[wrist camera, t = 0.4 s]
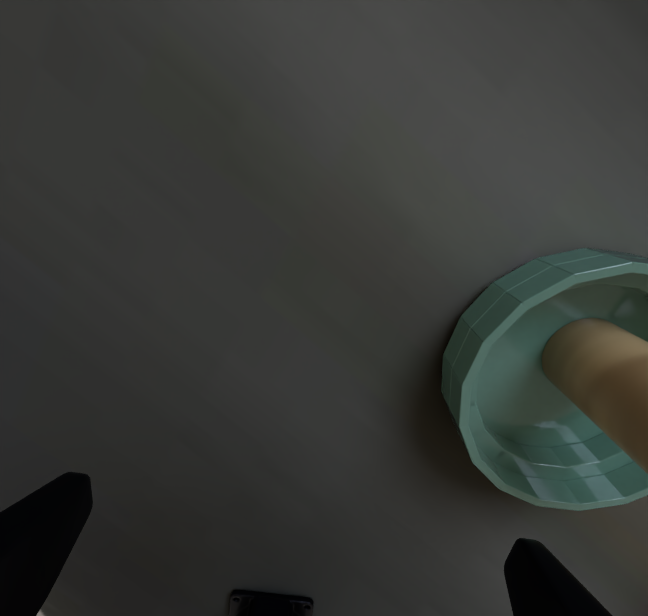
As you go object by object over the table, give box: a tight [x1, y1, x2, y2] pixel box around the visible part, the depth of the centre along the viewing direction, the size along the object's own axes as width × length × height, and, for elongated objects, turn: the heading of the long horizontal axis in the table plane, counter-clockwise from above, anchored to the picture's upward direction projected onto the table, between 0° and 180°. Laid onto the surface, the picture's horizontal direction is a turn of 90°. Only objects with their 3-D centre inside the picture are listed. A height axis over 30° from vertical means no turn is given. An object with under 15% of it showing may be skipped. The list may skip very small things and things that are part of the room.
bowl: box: [441, 248, 648, 511], centre depth 21 cm, size 14×14×4 cm
